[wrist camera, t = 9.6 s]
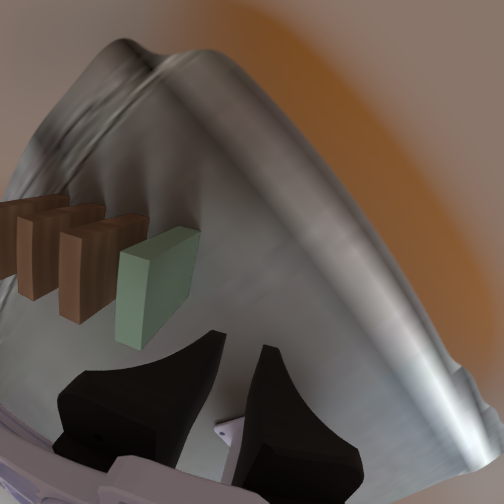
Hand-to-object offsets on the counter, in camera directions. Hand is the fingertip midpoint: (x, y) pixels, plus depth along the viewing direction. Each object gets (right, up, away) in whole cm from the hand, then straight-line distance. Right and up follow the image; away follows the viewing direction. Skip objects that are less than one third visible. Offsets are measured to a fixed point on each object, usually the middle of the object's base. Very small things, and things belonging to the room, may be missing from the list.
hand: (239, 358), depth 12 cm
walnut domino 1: (-16, +7, +10) cm, 20 cm away
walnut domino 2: (-12, +6, +10) cm, 17 cm away
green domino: (-4, +4, +9) cm, 11 cm away
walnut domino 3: (-8, +5, +10) cm, 14 cm away
